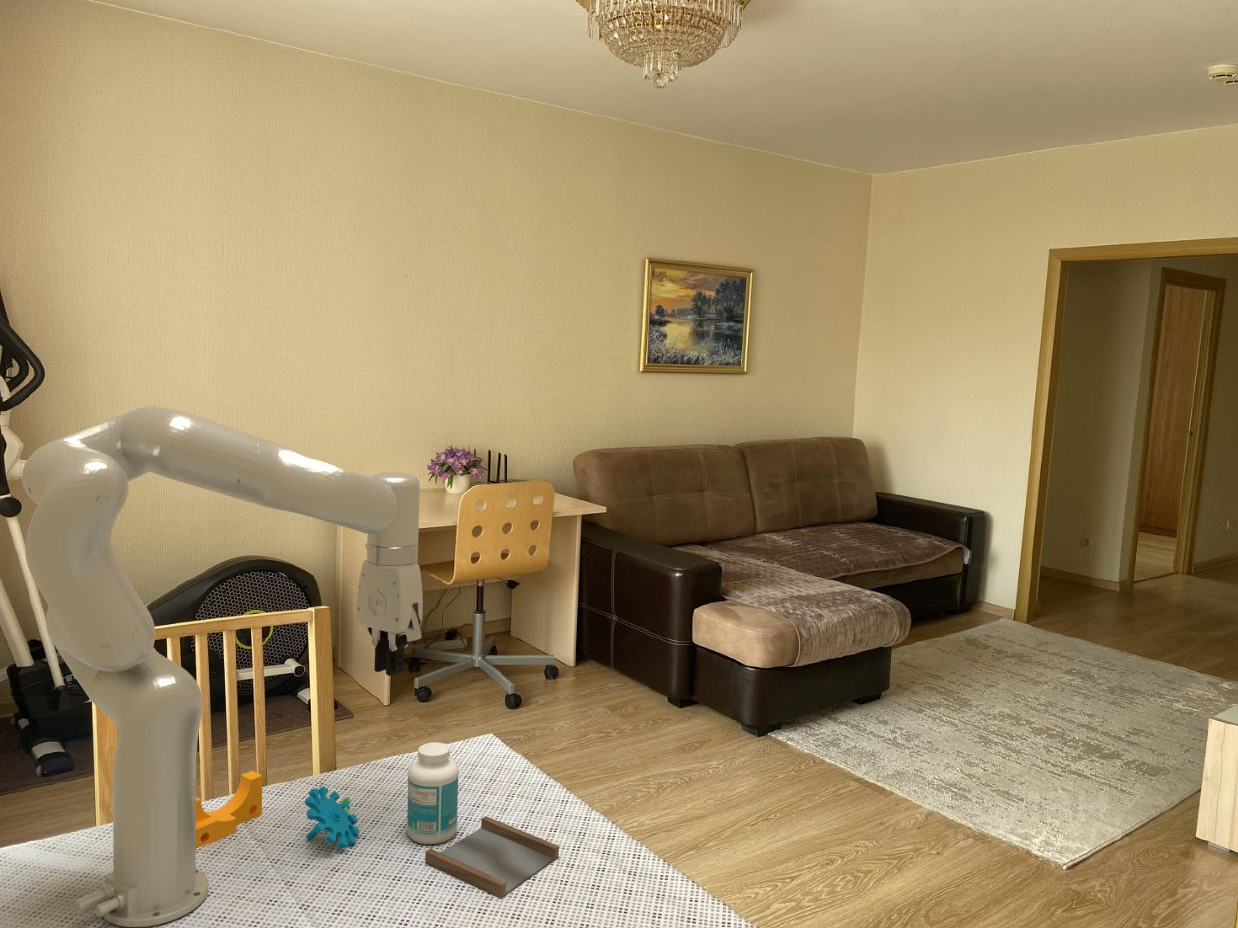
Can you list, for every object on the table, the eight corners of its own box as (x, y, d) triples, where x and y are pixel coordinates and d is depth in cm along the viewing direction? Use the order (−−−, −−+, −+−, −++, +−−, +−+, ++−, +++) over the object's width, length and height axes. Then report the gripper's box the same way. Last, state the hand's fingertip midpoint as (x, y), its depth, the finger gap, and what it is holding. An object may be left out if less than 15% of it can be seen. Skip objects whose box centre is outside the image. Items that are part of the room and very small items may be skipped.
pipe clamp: (195, 851, 132) (195, 808, 132) (178, 840, 135) (178, 798, 134) (268, 819, 142) (269, 778, 142) (251, 810, 145) (252, 770, 144)
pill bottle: (447, 817, 146) (450, 735, 144) (463, 840, 139) (467, 753, 138) (400, 827, 142) (402, 742, 140) (415, 850, 135) (418, 762, 134)
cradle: (501, 898, 125) (501, 885, 125) (425, 863, 132) (425, 851, 132) (558, 857, 136) (559, 845, 136) (485, 826, 143) (485, 815, 143)
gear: (343, 852, 131) (300, 796, 132) (313, 878, 131) (270, 822, 133) (374, 824, 142) (334, 772, 143) (346, 848, 142) (307, 796, 143)
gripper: (337, 549, 142) (334, 666, 144) (412, 567, 134) (408, 690, 136) (374, 542, 148) (371, 654, 150) (448, 559, 140) (443, 677, 142)
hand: (389, 670), depth 143 cm, fingers closed
